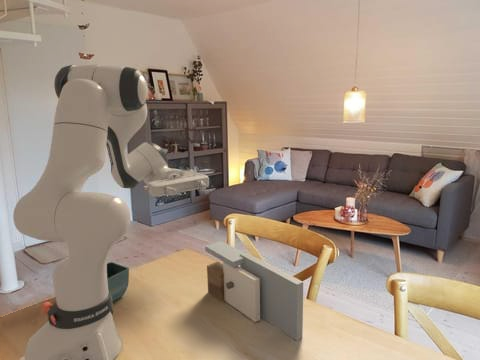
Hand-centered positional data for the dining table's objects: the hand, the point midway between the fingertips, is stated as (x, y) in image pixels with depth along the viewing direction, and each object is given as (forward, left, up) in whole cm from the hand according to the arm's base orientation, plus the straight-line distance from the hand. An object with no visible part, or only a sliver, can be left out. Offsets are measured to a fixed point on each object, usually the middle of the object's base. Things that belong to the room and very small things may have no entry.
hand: (191, 189), depth 115 cm
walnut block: (0, -14, -30) cm, 33 cm away
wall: (+1, -26, -30) cm, 40 cm away
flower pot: (-26, +6, -30) cm, 40 cm away
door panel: (-1, -24, -30) cm, 38 cm away
